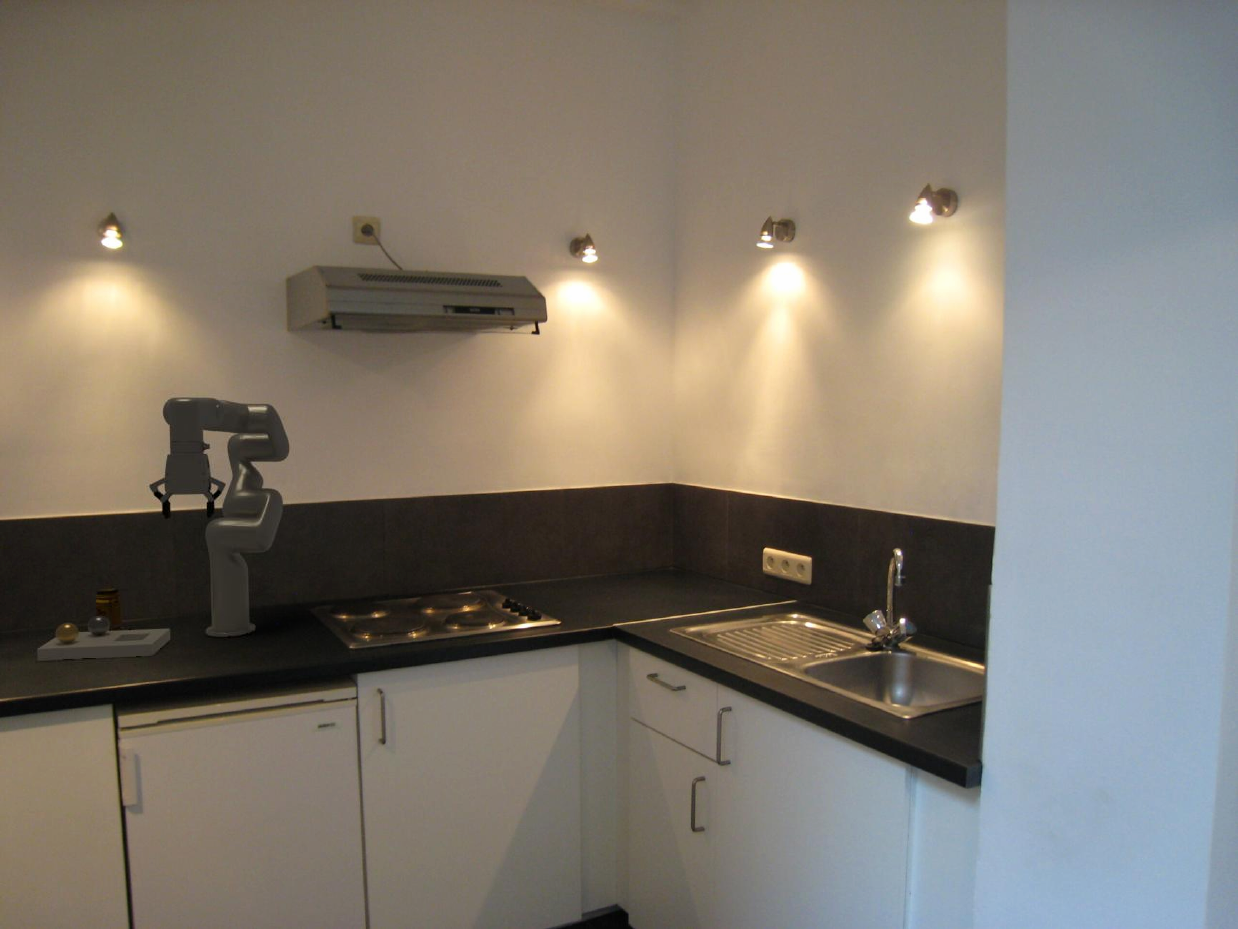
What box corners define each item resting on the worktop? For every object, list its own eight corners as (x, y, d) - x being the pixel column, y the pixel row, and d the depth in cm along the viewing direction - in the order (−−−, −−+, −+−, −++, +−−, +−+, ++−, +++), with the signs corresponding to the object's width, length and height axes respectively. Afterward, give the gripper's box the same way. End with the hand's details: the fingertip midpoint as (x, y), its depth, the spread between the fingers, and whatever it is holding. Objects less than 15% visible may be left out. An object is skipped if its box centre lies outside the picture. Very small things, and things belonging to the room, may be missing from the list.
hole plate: (63, 644, 244) (63, 632, 244) (170, 639, 249) (169, 628, 249) (37, 661, 229) (37, 649, 228) (152, 656, 234) (151, 644, 233)
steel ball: (92, 633, 244) (91, 614, 244) (113, 632, 245) (112, 613, 245) (85, 637, 239) (84, 618, 239) (106, 637, 240) (105, 617, 240)
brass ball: (60, 640, 236) (59, 621, 236) (82, 639, 237) (81, 620, 237) (52, 645, 231) (51, 625, 231) (74, 645, 232) (73, 625, 232)
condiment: (89, 634, 255) (87, 590, 254) (114, 627, 263) (113, 584, 262) (110, 636, 253) (108, 592, 252) (135, 629, 261) (133, 586, 260)
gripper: (227, 447, 236) (228, 515, 237) (152, 448, 232) (154, 516, 233) (221, 449, 229) (223, 518, 230) (144, 449, 225) (146, 520, 226)
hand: (188, 517), depth 232 cm, fingers open, 9 cm apart
